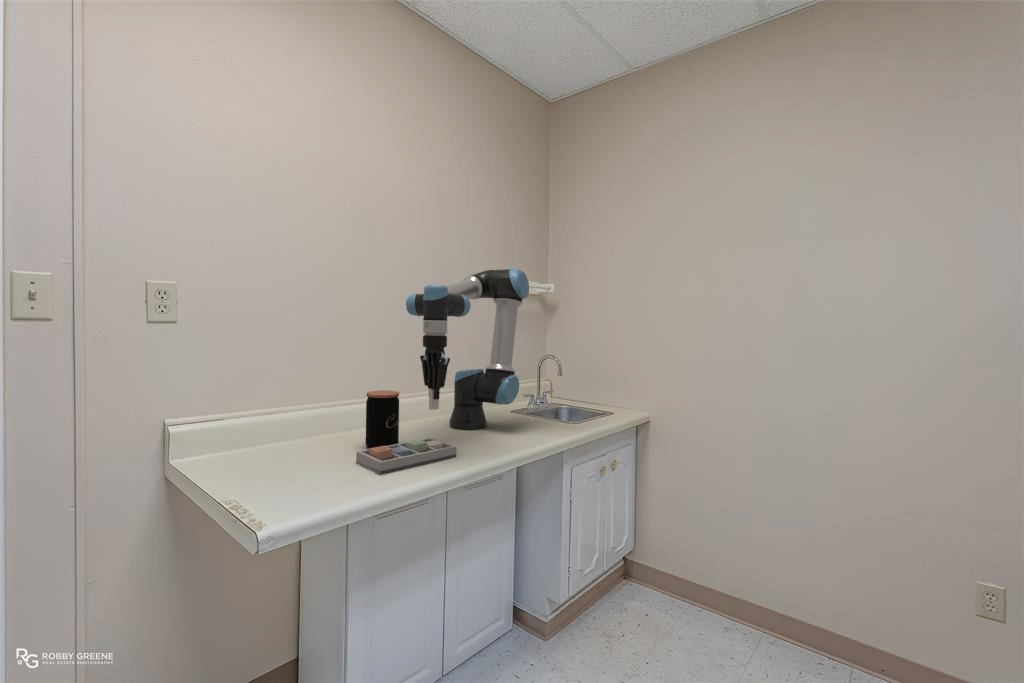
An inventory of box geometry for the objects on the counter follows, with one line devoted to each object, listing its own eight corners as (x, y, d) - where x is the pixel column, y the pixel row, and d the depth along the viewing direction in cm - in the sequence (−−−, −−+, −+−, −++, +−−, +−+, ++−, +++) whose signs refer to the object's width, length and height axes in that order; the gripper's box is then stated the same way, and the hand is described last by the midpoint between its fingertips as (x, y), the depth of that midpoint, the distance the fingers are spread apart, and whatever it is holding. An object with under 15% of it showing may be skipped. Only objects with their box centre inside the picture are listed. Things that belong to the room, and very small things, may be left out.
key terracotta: (384, 453, 136) (384, 445, 135) (392, 457, 132) (392, 448, 132) (369, 456, 132) (369, 447, 132) (377, 460, 129) (377, 451, 129)
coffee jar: (389, 451, 147) (390, 395, 147) (359, 448, 149) (360, 393, 149) (403, 443, 158) (404, 391, 157) (375, 440, 160) (376, 389, 159)
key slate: (401, 454, 140) (401, 446, 140) (410, 457, 137) (410, 449, 136) (388, 457, 137) (388, 448, 136) (396, 460, 133) (396, 451, 133)
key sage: (418, 446, 144) (418, 438, 144) (427, 450, 141) (427, 441, 141) (405, 449, 141) (405, 441, 141) (414, 452, 137) (414, 444, 137)
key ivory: (434, 447, 148) (434, 439, 148) (442, 450, 145) (442, 442, 145) (422, 450, 145) (422, 442, 145) (430, 453, 142) (430, 445, 142)
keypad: (430, 447, 153) (430, 437, 153) (456, 457, 143) (456, 446, 143) (356, 462, 134) (356, 451, 134) (380, 474, 125) (380, 462, 124)
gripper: (413, 333, 146) (412, 407, 147) (437, 335, 137) (436, 413, 138) (432, 333, 151) (431, 404, 152) (457, 335, 142) (456, 410, 143)
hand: (433, 409), depth 145 cm, fingers closed
